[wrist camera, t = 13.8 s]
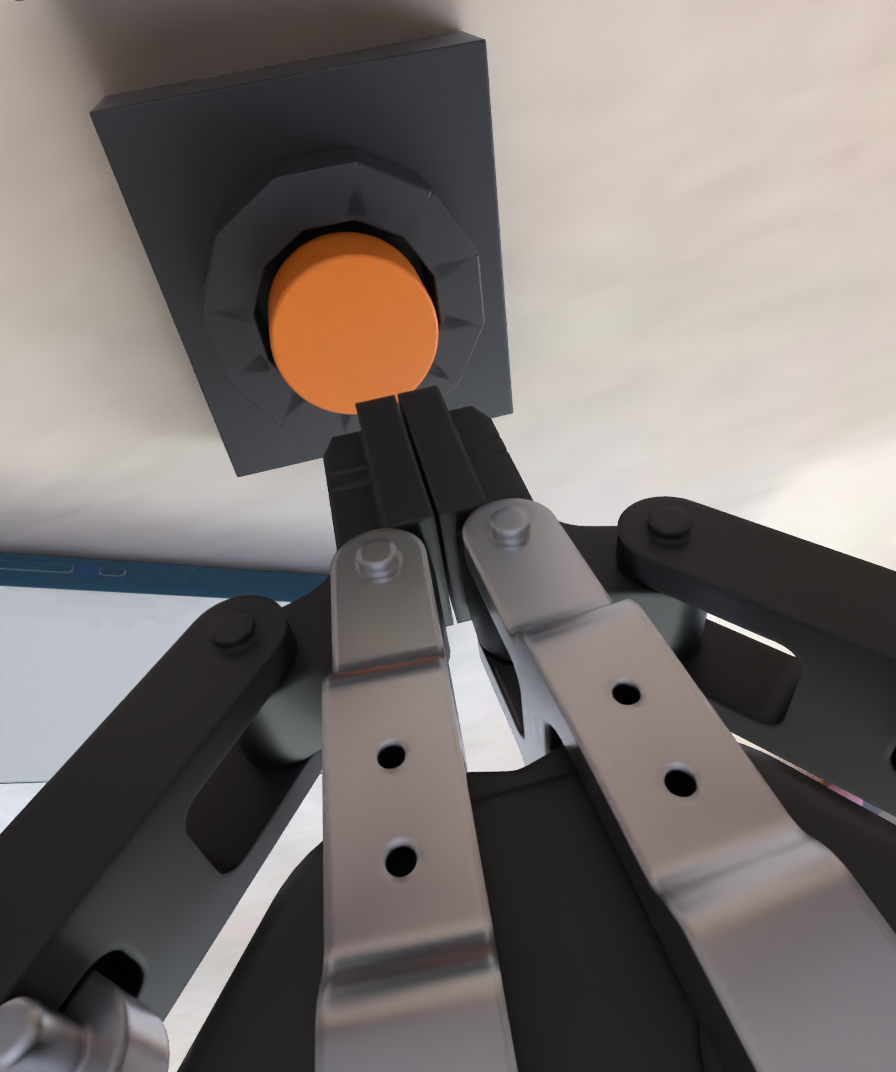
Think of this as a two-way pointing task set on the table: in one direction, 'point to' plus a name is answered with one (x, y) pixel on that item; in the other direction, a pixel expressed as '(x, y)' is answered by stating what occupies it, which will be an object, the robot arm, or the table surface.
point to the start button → (350, 322)
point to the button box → (316, 217)
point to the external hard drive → (95, 642)
